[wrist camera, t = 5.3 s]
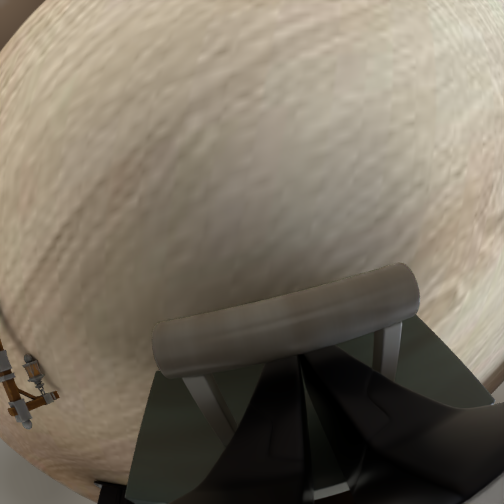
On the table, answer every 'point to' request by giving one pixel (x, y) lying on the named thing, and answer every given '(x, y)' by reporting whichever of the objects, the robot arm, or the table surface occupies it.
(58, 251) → the table surface
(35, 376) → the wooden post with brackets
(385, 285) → the drawer
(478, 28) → the table surface
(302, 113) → the table surface
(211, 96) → the table surface
